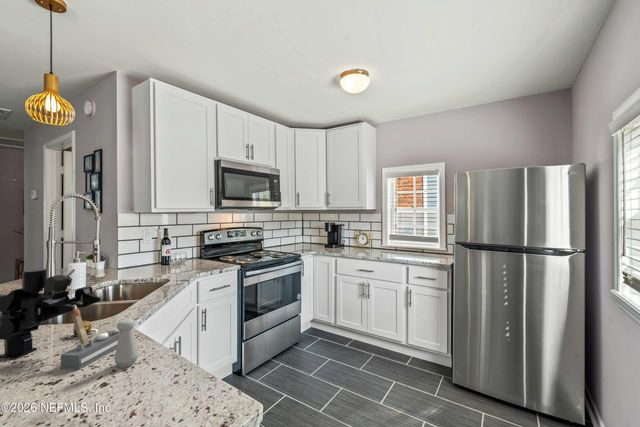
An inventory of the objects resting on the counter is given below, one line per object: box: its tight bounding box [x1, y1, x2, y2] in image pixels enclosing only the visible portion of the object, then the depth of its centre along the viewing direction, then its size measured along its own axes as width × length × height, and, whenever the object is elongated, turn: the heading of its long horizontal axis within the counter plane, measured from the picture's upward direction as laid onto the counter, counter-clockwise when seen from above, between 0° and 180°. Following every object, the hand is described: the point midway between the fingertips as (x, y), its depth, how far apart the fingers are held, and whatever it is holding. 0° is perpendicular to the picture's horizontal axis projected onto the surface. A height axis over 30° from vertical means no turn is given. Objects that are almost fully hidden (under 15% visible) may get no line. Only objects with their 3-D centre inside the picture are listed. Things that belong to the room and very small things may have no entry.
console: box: [60, 330, 120, 371], centre depth 96 cm, size 6×18×6 cm, turn 172°
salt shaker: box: [113, 318, 139, 369], centre depth 89 cm, size 6×6×13 cm
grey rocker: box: [106, 327, 120, 333], centre depth 102 cm, size 3×2×1 cm, turn 82°
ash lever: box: [69, 308, 89, 345], centre depth 92 cm, size 2×2×11 cm
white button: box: [95, 332, 108, 340], centre depth 98 cm, size 3×3×1 cm
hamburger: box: [67, 320, 99, 340], centre depth 113 cm, size 12×12×6 cm
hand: (87, 303), depth 94 cm, fingers open, 9 cm apart
